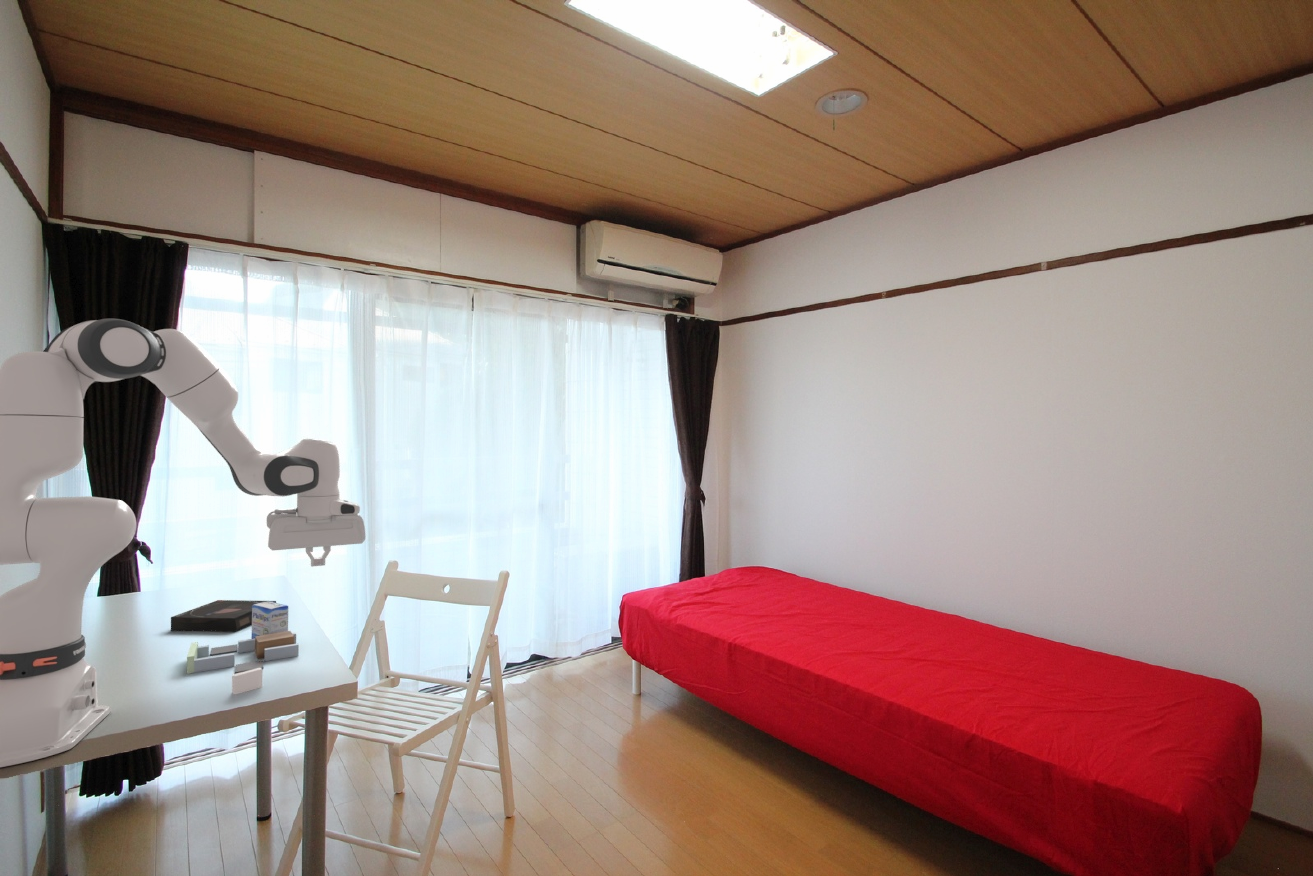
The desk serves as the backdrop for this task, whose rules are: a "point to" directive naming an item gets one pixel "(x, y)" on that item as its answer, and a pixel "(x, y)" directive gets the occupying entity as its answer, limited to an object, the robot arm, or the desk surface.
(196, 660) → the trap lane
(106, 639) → the desk surface
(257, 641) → the walnut block
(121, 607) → the desk surface
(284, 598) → the desk surface
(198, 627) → the portable cd player
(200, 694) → the desk surface
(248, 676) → the eraser
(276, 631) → the medicine box
